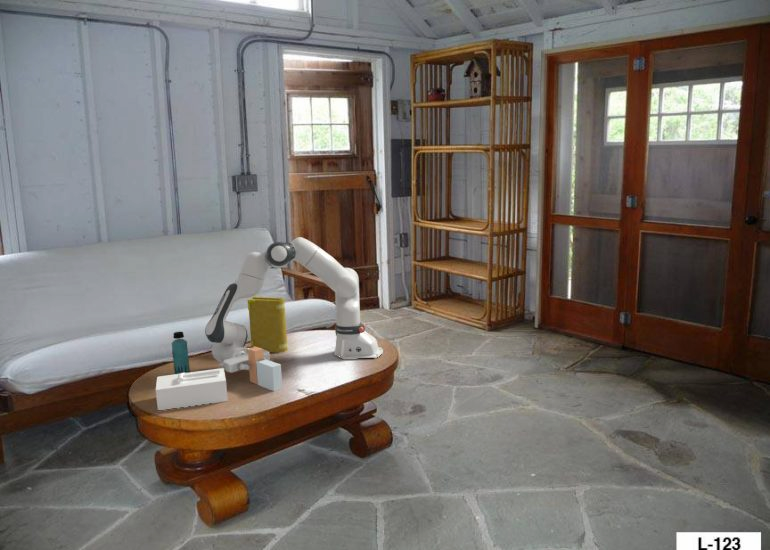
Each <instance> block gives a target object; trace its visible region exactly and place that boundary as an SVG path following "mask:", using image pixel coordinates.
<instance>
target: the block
mask: <svg viewBox="0 0 770 550" xmlns="http://www.w3.org/2000/svg"><path fill="white" fill-rule="evenodd" d="M262 359H264V355H263V349H262V348H259V347H253V348H249V349H248V360H249V365H251V369H249V370H248V371H249V382H250V383H253V384H255V385H258V383H257V370H256V361H258V360H262Z"/></svg>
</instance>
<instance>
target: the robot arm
mask: <svg viewBox="0 0 770 550" xmlns="http://www.w3.org/2000/svg"><path fill="white" fill-rule="evenodd" d="M291 261H293V262H296V263H298V264H300V265H301V266H303V267H304V268H305V269H306V270H307V271H309V272H311V273H312V274H313V275H315V276H316V277H318V278H319V279H320V280H321V281H322V282H323V283H324V284H325V285H326V286H327V287H329V288H330V289H331V290H332V291H333V292H334V296H335V297H334V299H335V300H334V301H335V302H334V303H335V305H334V307H335V325H334V326H335V327H334V328H335V329H334V331H335V332H334V333H335V336H336V337H335V348H334V352H333V354H334V356H336V355H337V356H336V357H338V356H340V357H341V358H342V359H341V358H340V357H339V358H340V359H341V360H358V359H357V358H375V359H377V357H378V358H379V356H380V355H381V354H382V355H383V353H384V349H383V348H382V347H379V344H378V341H377V339H376V337H374V336H373V335H372V334H370V333H369V332H367V331H366V330H365V329H366V328H365V327H366V324H365V323H362V322H361V309H360V308H361V307H360V306H361V305H360V280H359V275H358V273H357V271H355V269H352V268H350V267H344V266H343V265H341V263H340V262H338V261H337V259H335V258H334V257H333V256H332V255H330V254H329V253H328V252H326V251H325V250H324V249H322V248H321V247H320V246H318V245H317V244H315V243H314V242H312V241H310V240H309V239H306V238H304V237H301V236H299V237H295V238H294V239H293V240H292V241H291V242H284V241H276V242H273V243H271V244H270V245H269V246H268V247H267V249H266V251H265V252H258V251H252V252H250V253H248V254H247V255H246V257H245V258H244V261H243V263H242V266H241V268H240V271H239V274H238V276H237V278H236V280H235V281H234V282H233V283H231V284H229V285H228V286H227V288H226V289H225V291H224V292H223V295H222V296H221V298H220V300H219V303H218V305H217V307H216V308H215V311H214V313H213V315H212V317H211V318H210V320H209V321H208V322H207V323H206V326H205V329H204V334H205V336H206V339H207V340H208V341H209V342H210V343H214V344H213V345H212V348H211V354H212V357H213V358H214V359H215V360H216V361H217V362H219V364H218V366H219V367H221V368H224V371H226V372H228V373H234V372H238V371H242V370H246V371H249V369H251V365H249V360H248V349H249V348H253V347H256V346H251V345H250V346H246V344H247V341H248V335H249V334H248V330H247V328H246V326H245V325H243V324H241V323H236V322H231V321H228V320H227V317H228V315H229V313H230V311H231V309H232V308H233V305H234V303H235V302H237V301H238V300H241V299H245V298H251V297H252V298H253V297H255V296H256V295H258V294H259V293H260V292H261V290H262V288H263V285H264V282H265V278H266V274H267V272H268V271H269V269H282V268H284V267H286V266H287V265H288V264H289V263H290V262H291ZM263 355H264V359H266V360H269V361H271V352H268V351H266V350H264V349H263ZM382 355H381V356H382ZM381 356H380V357H381Z"/></svg>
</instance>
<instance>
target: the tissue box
mask: <svg viewBox="0 0 770 550" xmlns="http://www.w3.org/2000/svg"><path fill="white" fill-rule="evenodd" d="M155 385H156V386H155V396H156V404H157V405H156V406H157V407H156V408H157V411H158V410H164V409H171V408H177V409H181V408H180V407H184V408H189V407H188V406H191V407H195V405H198V406H203V405H202V404H205V405H210V404H209V403H212V404H217V403H225V402H228V391H227V390H228V389H227V387H228V386H227V379H226V374H225V370H224V368H223V367H221V368H214V369H206V370H197V371H190V373H180V374H174V373H173V374H168V375H167V374H166V375H162V376H161V375H160V376H157V378H156V384H155ZM171 410H172V409H171ZM164 411H165V410H164Z"/></svg>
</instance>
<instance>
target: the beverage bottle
mask: <svg viewBox="0 0 770 550" xmlns="http://www.w3.org/2000/svg"><path fill="white" fill-rule="evenodd" d="M172 337H173V339H174V340H173V341H172V342H171V350H172V351H171V352H172V353H171V355H172V363H173V375H174V374H180V373H190V372H191V369H190V359H189V350H188V348H189V347H188V341H187V340H186V339H184V337H185V335H184V332H183V331H175V332H174V333H173V336H172Z"/></svg>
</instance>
